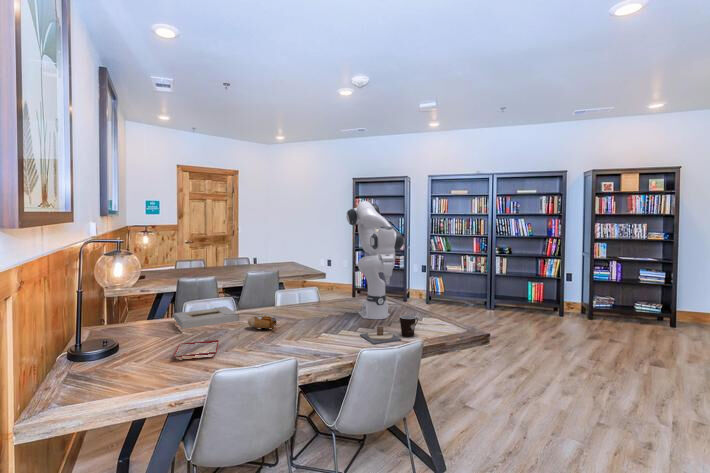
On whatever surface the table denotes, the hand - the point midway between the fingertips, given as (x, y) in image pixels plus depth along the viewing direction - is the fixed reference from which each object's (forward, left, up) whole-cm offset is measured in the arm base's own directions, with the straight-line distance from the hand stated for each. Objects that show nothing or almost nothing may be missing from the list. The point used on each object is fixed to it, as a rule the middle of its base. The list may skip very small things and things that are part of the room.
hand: (387, 283), depth 207 cm
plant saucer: (-10, -94, -29) cm, 98 cm away
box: (-61, -87, -29) cm, 111 cm away
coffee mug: (+5, +11, -28) cm, 31 cm away
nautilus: (-37, -58, -28) cm, 74 cm away
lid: (+3, -6, -27) cm, 28 cm away
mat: (+3, -6, -28) cm, 29 cm away
